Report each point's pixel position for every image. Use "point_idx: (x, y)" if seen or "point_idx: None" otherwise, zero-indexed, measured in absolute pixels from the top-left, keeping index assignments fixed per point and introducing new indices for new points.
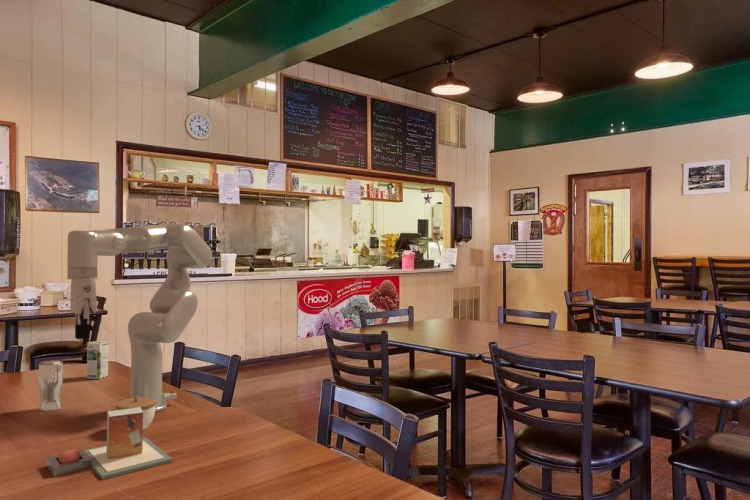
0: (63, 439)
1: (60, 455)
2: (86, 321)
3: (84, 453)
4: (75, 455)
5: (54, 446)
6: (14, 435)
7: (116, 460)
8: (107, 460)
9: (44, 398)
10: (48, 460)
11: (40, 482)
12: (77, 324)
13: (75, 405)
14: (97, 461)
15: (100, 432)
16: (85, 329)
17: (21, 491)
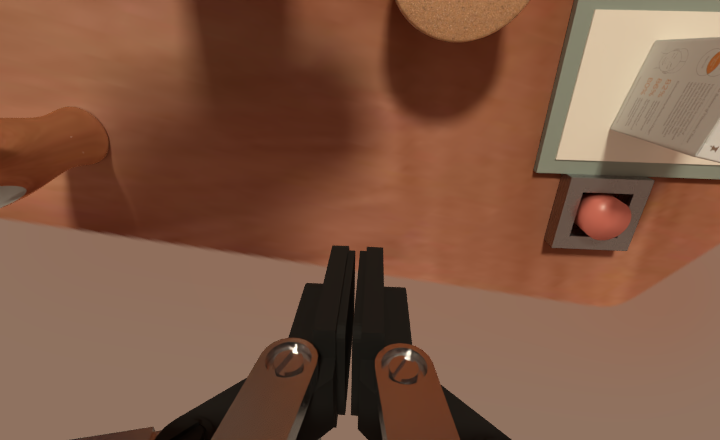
0: (393, 173)
1: (604, 238)
2: (461, 411)
3: (601, 183)
4: (630, 212)
5: (431, 201)
6: (286, 247)
7: None
8: None
9: (71, 166)
10: (569, 247)
11: (620, 263)
12: (335, 413)
13: (63, 63)
14: (642, 162)
15: (404, 81)
16: (406, 327)
17: (630, 292)
